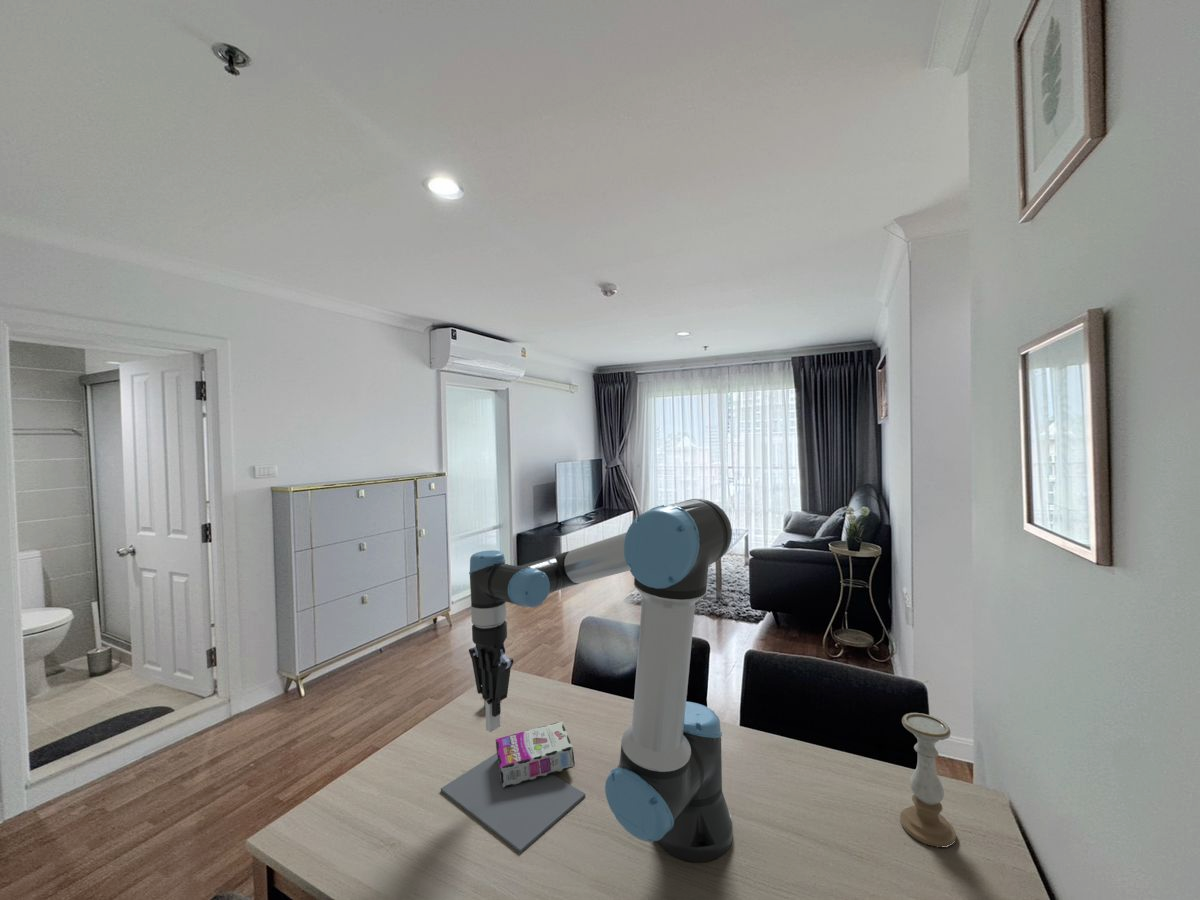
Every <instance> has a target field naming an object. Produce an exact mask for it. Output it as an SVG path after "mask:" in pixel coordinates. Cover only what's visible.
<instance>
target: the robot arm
mask: <svg viewBox="0 0 1200 900" xmlns="http://www.w3.org/2000/svg"><path fill="white" fill-rule="evenodd" d="M732 537H733V529H732V523H731V520H730V519H729V517H728V515H727V513H726V512H725V511H724V510H723V509H722V508H721V507H720V505H718V504H716V503H714V502H713V501H710V500H709V499H708V500H707V499H703V498H690V499H686V500H684V501H679V502H674V503H671V504H662V505H657V506H656V507H653V508H650V509H649V510H647V511H645V512H643V513H641V514H639V515H638V516H637V517H636V518H635V519H634V520H633V521H632V522H631V524H630V525H629V527H628V529H627V531H626V532H623V533H621V534H617V535H614V536H611V537H609V538H606V539H603V540H600V541H596V542H593V543H589V544H586V545H583V546H581V547H578V548H574V549H571V550H568V551H565V552H561V553H558V554H556V555H552V556H549V557H546V558H543V559H542V558H541V559H538V560H536V561H532V562H529V563H525V564H522V565H512V564H509V563H506V560H505V555H504V553H503V552H502V551H501V550H490V549H489V550H482V551H478V552H475V553H473V554H472V555H471V556H470V559H469V572H468V574H469V583H470V584H469V585H470V589H469V590H470V612H471V613H470V616H471V617H470V618H471V620H470V621H471V623H472V626H471V634H472V635H471V637H472V638H471V639H472V642H473V644H475V646H474V647H470V648H469V649H468V652H469V656H470V658H471V661H472V662H471V663H472V669H473V674H474V678H475V679H474V680H475V685H476V692H477V694H481V697H483V699H484V705H483V706H484V713H485V730H486V731H488V732H489V733H492V732H494V731H495V730H496V729H498V728H500V727H501V716H500V715H501V710H502V709H501V703H500V701H501V700H502V701H503V700H505V699H506V698H507V697H508V691H509V686H510V685H509V684H510V676H511V669H512V667H513V664H514V659H513V658H512V657H510V658H508V656H507V655H506V648H505V641H506V640H507V639H508V625H507V624H508V623H507V621H506V620H507V603H508V604H509V603H510V604H513V605H516V606H518V607H523V608H525V607H526V608H537V607H539V606H541V605H542V604H543V602H544V601H545V600H547V598H548V597H549V594H553V592H557V591H559V590H563V589H565V588H569V587H572V586H576V585H580V584H583V583H586V582H591V581H595V580H598V579H602V578H606V577H611V576H615V575H619V574H622V573H626V572H630V573H631V575H632V576H633V577H634V581H633V585H634V587H635V589H636V590H637V591H638V593H640V594H641V596H642V597H641V598H642V599H641V608H640V609H641V610H640V621H639V623H640V624H639V632H638V633H639V635H638V644H637V645H638V647H637V659H636V670H635V671H636V672H635V683H634V695H633V696H634V698H633V707H632V721H631V725H630V726H628V727H627V728H626V729H625V731H624V732H623V733H622V737H621V744H620V755H619V763H618V764H617V766H616V767H614V768H612V770H610V773H609V775H608V776H607V778H606V781H605V785H604V788H605V789H604V791H605V798H606V801H607V804H608V806H609V808H610V811H611V812H612V813H613V815H614V817H615V818H616V820H617V822H618V823H619V824H620V825H621V827H622V828H623V829H624V830H625V831H626V832H627V833H629V834H630V835H631V836H633V837H635V838H636V839H638V840H640V841H643V842H645V843H646V842H647V843H654V842H657V843H658V845H659V846H660V847H661V848H662V849H663V850H664V851H666V852H667V853H668V854H670V855H672V856H673V857H675V858H678V859H681V860H683V861H687V862H690V863H691V862H693V863H706V862H711V861H714V860H715V859H719V858H720V857H722V856H723V855H724V854H726V853H727V851H728V850H729V849H730V847H731V845H732V842H733V838H734V836H733V834H734V833H733V820H732V816H731V813H730V811H729V807H728V805H727V801H726V798H725V796H724V792H723V772H722V771H723V770H722V769H723V768H722V767H723V766H722V761H723V760H722V736H723V734H722V730H721V722H720V718H719V716H718V715H717V713H715V711H714V710H712V708H709V707H707V706H706V705H704V704H700V703H697V702H693V701H687V698H688V697H687V696H688V685H689V675H690V664H691V653H692V652H691V651H692V644H693V643H692V641H693V631H694V622H695V621H694V620H695V609H696V603H697V602H698V601H699V600H701V599H702V598H704V597H705V595H706V593H707V586H708V574H709V567H710V565H712V564H714V563H716V562H717V561H719V560H720V559H722V557H724V555H726V553H727V551H728V550H729V548H730V546H731V542H732V539H733V538H732ZM483 699H482V700H483Z"/></svg>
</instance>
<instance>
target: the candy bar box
mask: <svg viewBox="0 0 1200 900" xmlns="http://www.w3.org/2000/svg"><path fill="white" fill-rule="evenodd" d="M495 748H496V753H497V757H498V764H499V771H500V778H501V784H502V788H506V787H509V786H512V785H516V784H519V783H523V782H526V781H529V780H533V779H536V778H539V777H542V776H546V775H549V774H553V775H554V774H556V773H559V772H563V771H565V770H569V769H572V768H575V765H576V764H575V763H576V762H575V755H574V747H573V744H572V742H571V739H570V737H569V735H568V733H567V730H566V728H565V725H564V722H563V721H562V720H561V721H559V722H558V721H557V722H555V723H551V724H548V725H544V726H540V727H536V728H532V729H529V730H524V731H522V732H517V733H513V734H509V735H505V736H503V737H499V738H496V739H495Z"/></svg>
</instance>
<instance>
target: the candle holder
mask: <svg viewBox="0 0 1200 900" xmlns="http://www.w3.org/2000/svg"><path fill="white" fill-rule="evenodd" d="M901 723H902V726H903V727H904V728H905V729H906V730H907V731H909V732H910V733H911V734H913V735H914V737H915V738H916V739H917V742H916V743H915V744H914V746H913V749H914V751H915V752H916V753H917V763H916V768H915V769H914V771H913V772H912V775H911V776H910V778H909V787H910V790H911V791H912V792H911V793H913V795H912V796H911V801H912V802H913V804H914V805H911V806H908V807H906V808H904V809H902V810H901V812H900V814H899V821H900V824H901V827H902V828H903V829H904V830H905V832H906V833H907V834H908V835H910V836H911V838H913V839H915V840H916V841H918V842H921V843H922V844H924V845H927V844H928V845H927V846H929V845H932V846H931V847H933V846H938V847H942V846H947V845H950V844H952V843H953V842H954V841H955V839H956V840H957V833H956V829H955V828H954V826H953V825H952V824H951V823H950V822H949V821H948V820H947V819H946V818H945V817H944V815H942V814H941V812H942V811H943V804H942V803H941V802H942V801H943V799H944V797H945V789H944V787H943V783H942V781H941V780H940V778H939V776H938V772H937V768H936V758H938V757H939V754H940V753H939V751H938V750H937V748H936V746H935V745H936V743H938V742H939V741H944V740H947V739H949V738H950V737H951V729H950V727H949V726H948V724H947V723H946V722H944V721H943V720H941V719H939V718H938V717H935V716H934V715H933V716H932V715H930V714H925V713H922V712H921V713H919V712H909V713H905V714H904V715H903V716H902V718H901ZM955 842H956V841H955ZM938 847H937V848H938Z"/></svg>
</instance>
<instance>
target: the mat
mask: <svg viewBox="0 0 1200 900" xmlns="http://www.w3.org/2000/svg"><path fill="white" fill-rule="evenodd" d="M440 792H441V793H443V794H444V795H445V796H446V797H448V798H449V799H450V800H451V801H453V803H455V804H456V805H458V806H459V807H461V808H462V809H463V810H464V811H466V812H467V813H468V814H469V815H471V816H472V817H474V818H475V820H478V822H479V823H481V824H482V825H484V826H485V827H486V828H487V829H488V830H490V831H491V832H493V833H494V834H495V835H496V836H498V837H499V838H501V839H502V840H503V841H504V842H505V843H507V845H509V846H510V847H512V848H513V849H514V850H516V851H517V852H518V853H520V854H522V853H523V851H525V850H526V849H527V848H528V847H529V846H531V845H532V843H534V842H535V841H536V840H537V839H538V838H539V837H541V836H542V835H543V834H544V833H545V832H547V831H548V830H549V829H550V828H551V827H553V825H554V824H556V823H557V822H559V820H561V819H562V817H564V816H565V815H566V814H567V813H568V812H569V811H571V810H572V809H573V808H574V807H575V806H576V805H577V804H579V802H581V801H582V800H583V799H584V798H585V797H586V793H585V792H584V791H581V790H580V789H578V788H576V787H575V786H573V785H571V783H568V782H566V781H565V780H563V779H561V778H559V777H557V776H556V775H554V773H553V774H549V775H546V776H542V777H539V778H536V779H533V780H529V781H526V782H523V783H519V784H516V785H512V786H509V787H506V788H502V784H501V778H500V771H499V764H498V757H497V752H496V753H494V754H493V755H491V756H490V757H488V758H486V759H485V760H483V761H482V762H480V763H478V764H477V765H475V766H473V767H472V768H470V769H469V770H467V771H466V772H464V773H463V774H461V775H459V776H457V777H456V778H455V779H453V780H452V781H450V782H449V783H447V784H445V785H443V786H442V787H441V788H440Z"/></svg>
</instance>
